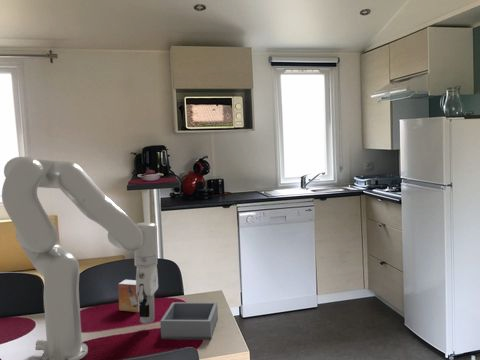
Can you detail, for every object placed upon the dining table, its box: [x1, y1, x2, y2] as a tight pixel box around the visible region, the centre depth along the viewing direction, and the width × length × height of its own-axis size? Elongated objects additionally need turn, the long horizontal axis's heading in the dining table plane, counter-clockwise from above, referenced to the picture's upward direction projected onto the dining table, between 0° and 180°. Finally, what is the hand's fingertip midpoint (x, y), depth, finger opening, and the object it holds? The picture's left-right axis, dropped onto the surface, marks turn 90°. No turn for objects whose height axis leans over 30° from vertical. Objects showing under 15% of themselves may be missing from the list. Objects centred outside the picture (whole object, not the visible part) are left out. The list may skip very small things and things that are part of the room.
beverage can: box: [139, 293, 155, 325], centre depth 142 cm, size 5×5×12 cm
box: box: [159, 301, 219, 341], centre depth 142 cm, size 16×16×6 cm
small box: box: [118, 279, 139, 313], centre depth 161 cm, size 8×6×10 cm
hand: (147, 312), depth 142 cm, fingers closed on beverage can, 4 cm apart
